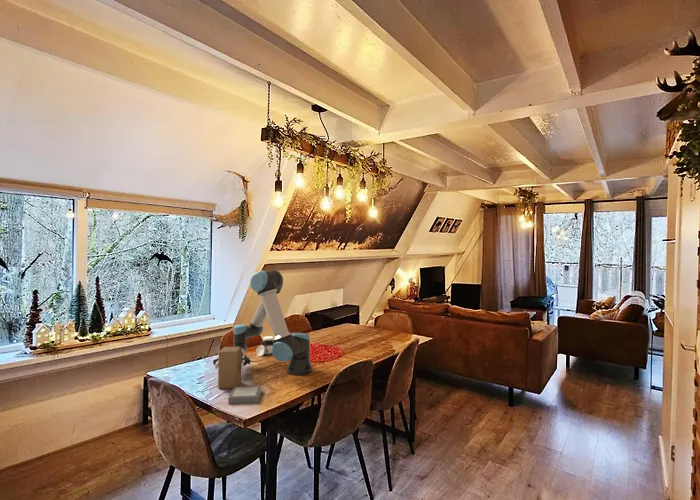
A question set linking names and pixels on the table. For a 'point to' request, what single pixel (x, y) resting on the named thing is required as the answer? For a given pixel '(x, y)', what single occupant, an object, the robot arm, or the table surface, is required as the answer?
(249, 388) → the slate base
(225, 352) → the wooden block
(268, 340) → the spread jar
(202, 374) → the table surface
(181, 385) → the table surface
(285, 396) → the table surface
